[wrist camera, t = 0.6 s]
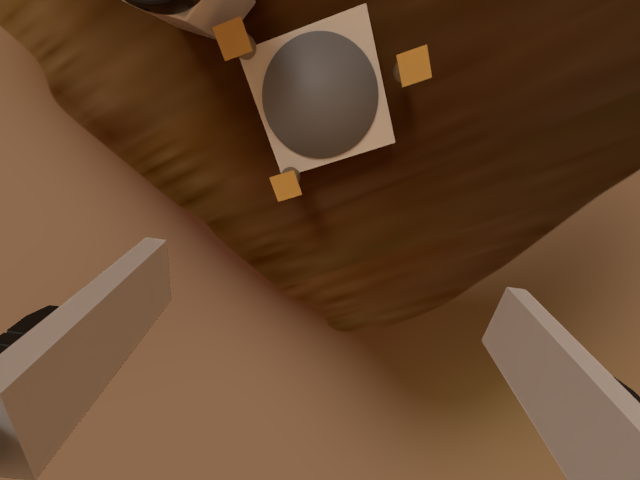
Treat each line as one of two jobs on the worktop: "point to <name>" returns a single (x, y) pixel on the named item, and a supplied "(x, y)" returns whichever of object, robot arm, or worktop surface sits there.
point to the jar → (195, 12)
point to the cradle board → (319, 90)
